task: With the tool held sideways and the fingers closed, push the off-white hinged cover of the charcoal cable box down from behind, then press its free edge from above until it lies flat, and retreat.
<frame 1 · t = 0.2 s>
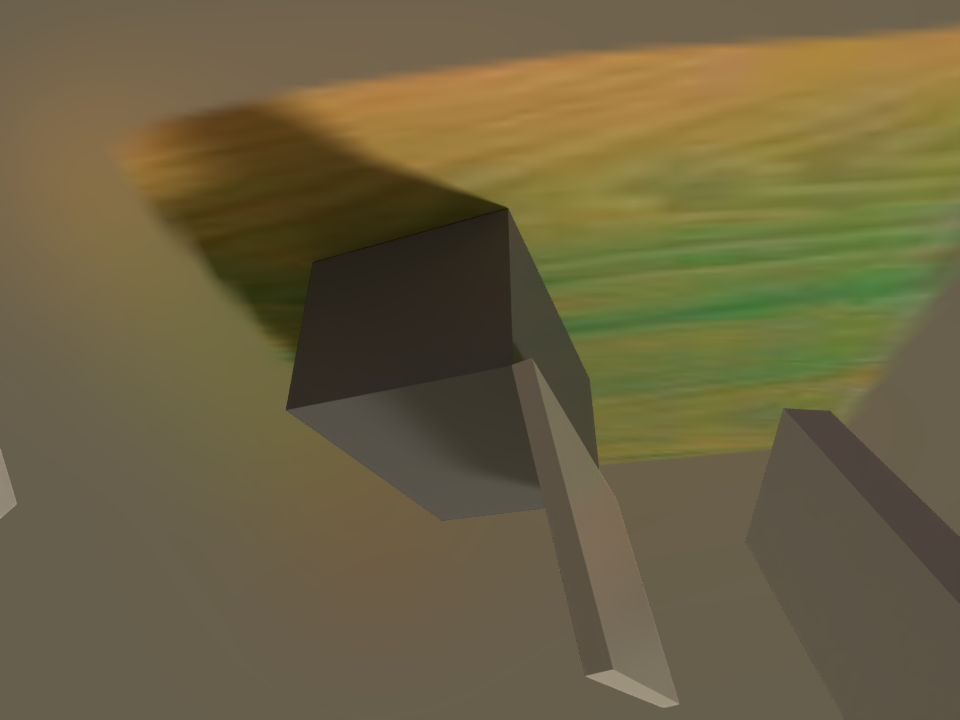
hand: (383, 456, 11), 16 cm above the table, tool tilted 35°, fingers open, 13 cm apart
cable box: (470, 329, 35), on the table
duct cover: (606, 556, 26), point 13 cm above the table, hinge at 100.0°
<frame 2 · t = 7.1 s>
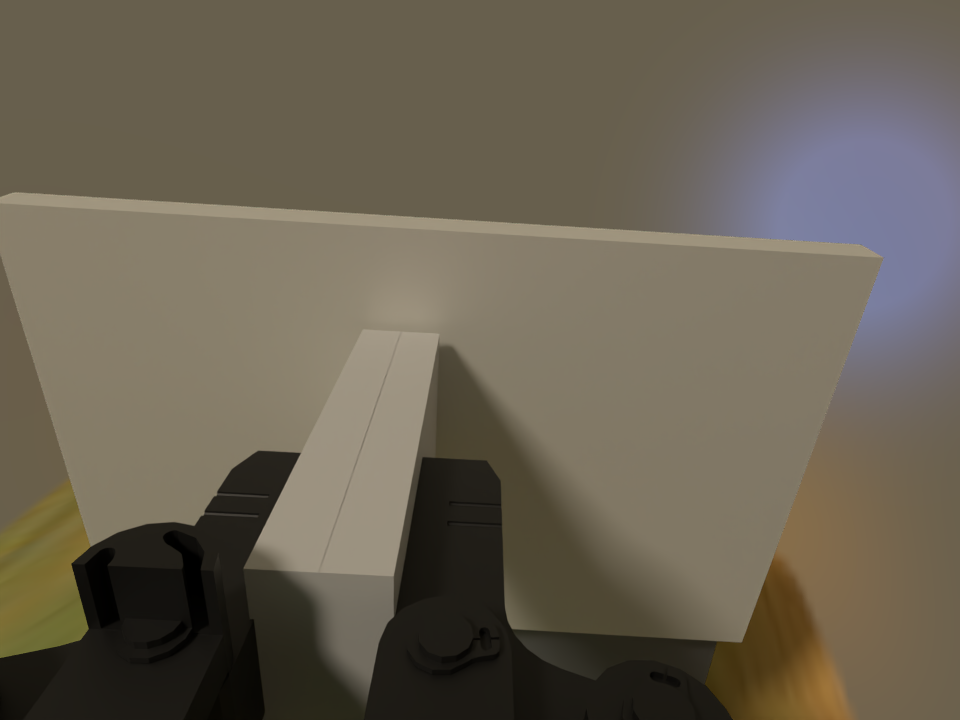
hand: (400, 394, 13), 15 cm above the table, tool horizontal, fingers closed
cable box: (436, 658, 25), on the table
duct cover: (431, 450, 14), point 13 cm above the table, hinge at 93.4°, touching gripper
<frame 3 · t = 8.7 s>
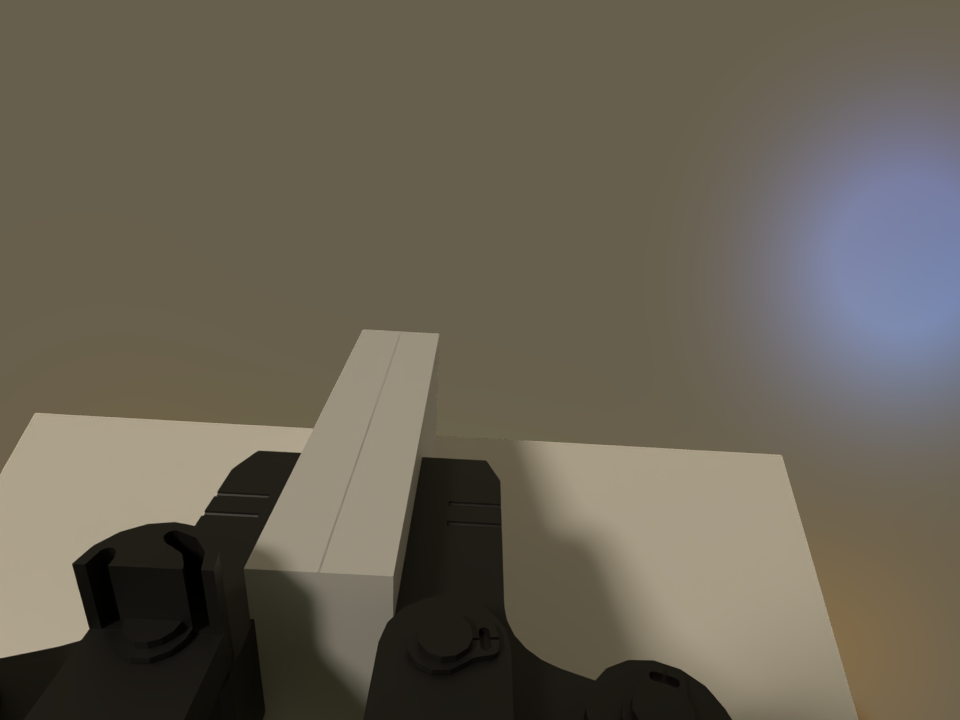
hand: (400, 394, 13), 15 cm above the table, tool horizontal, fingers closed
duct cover: (378, 703, 11), point 11 cm above the table, hinge at 27.9°, touching gripper
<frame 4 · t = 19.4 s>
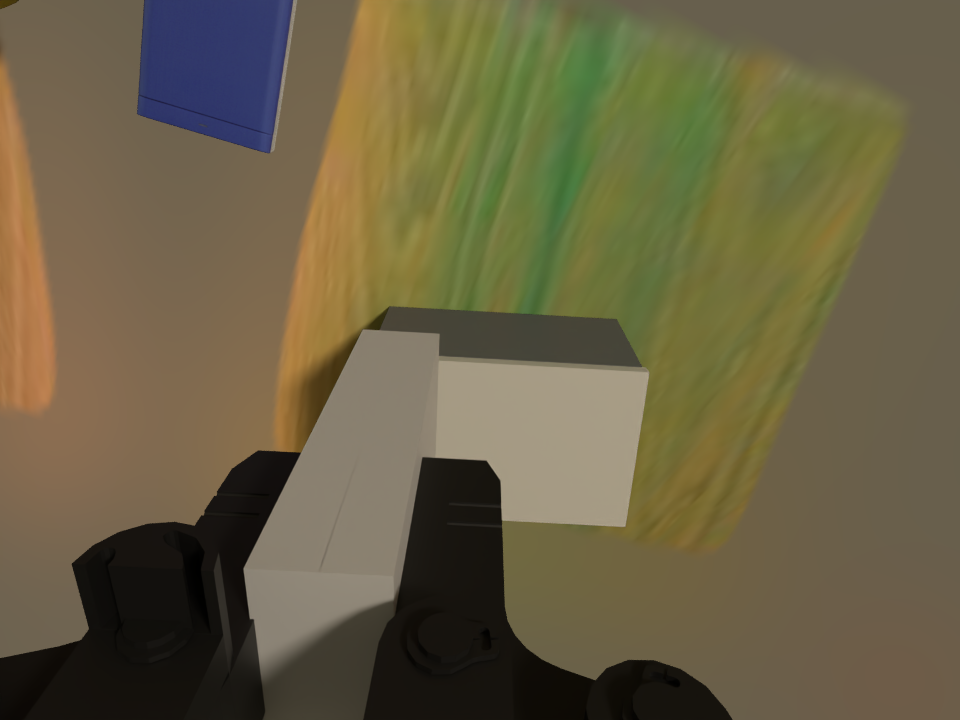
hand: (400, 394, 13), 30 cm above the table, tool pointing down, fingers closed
hard drive: (225, 27, 38), on the table
cable box: (498, 376, 46), on the table
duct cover: (500, 442, 38), point 9 cm above the table, hinge at 4.8°
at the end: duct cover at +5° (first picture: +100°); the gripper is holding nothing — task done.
